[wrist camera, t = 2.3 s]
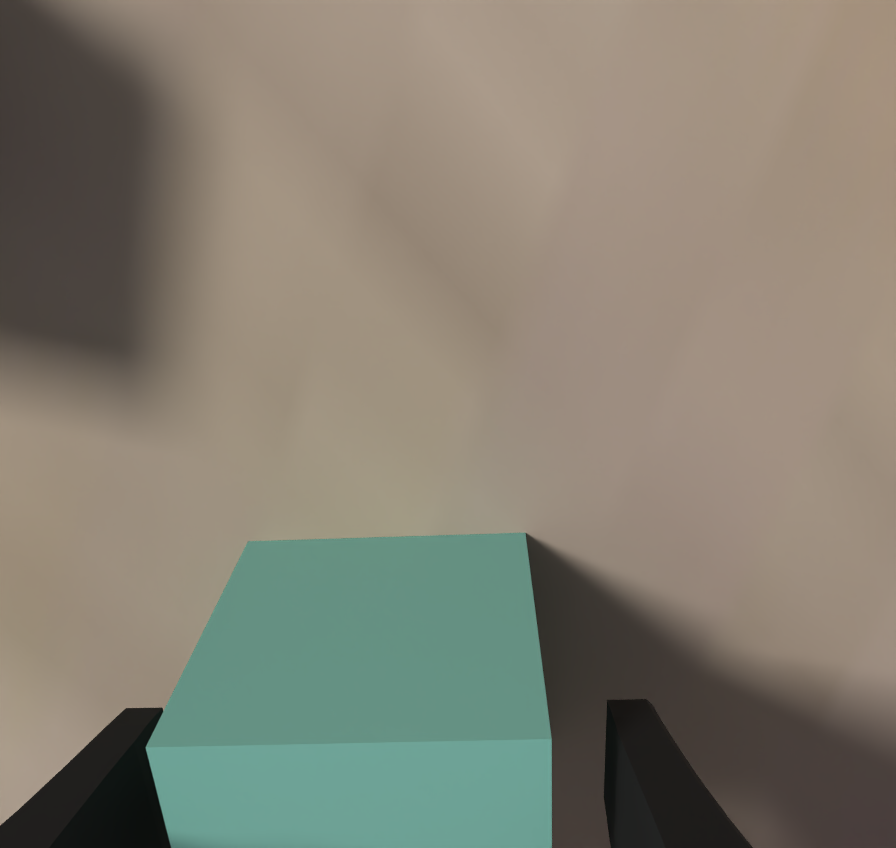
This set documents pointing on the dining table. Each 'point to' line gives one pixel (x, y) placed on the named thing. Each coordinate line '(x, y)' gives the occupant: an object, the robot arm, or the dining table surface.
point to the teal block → (363, 701)
